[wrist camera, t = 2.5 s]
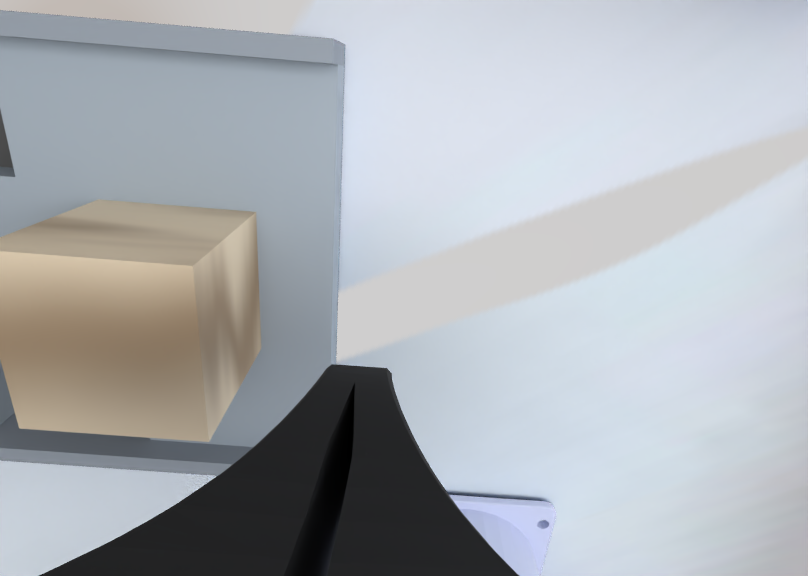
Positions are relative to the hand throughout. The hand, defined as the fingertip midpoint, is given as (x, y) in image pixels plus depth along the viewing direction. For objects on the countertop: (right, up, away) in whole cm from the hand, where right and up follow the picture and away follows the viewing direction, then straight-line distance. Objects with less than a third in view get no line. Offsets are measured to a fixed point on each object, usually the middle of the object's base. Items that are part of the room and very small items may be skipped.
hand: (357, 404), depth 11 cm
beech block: (-6, +3, +6) cm, 9 cm away
